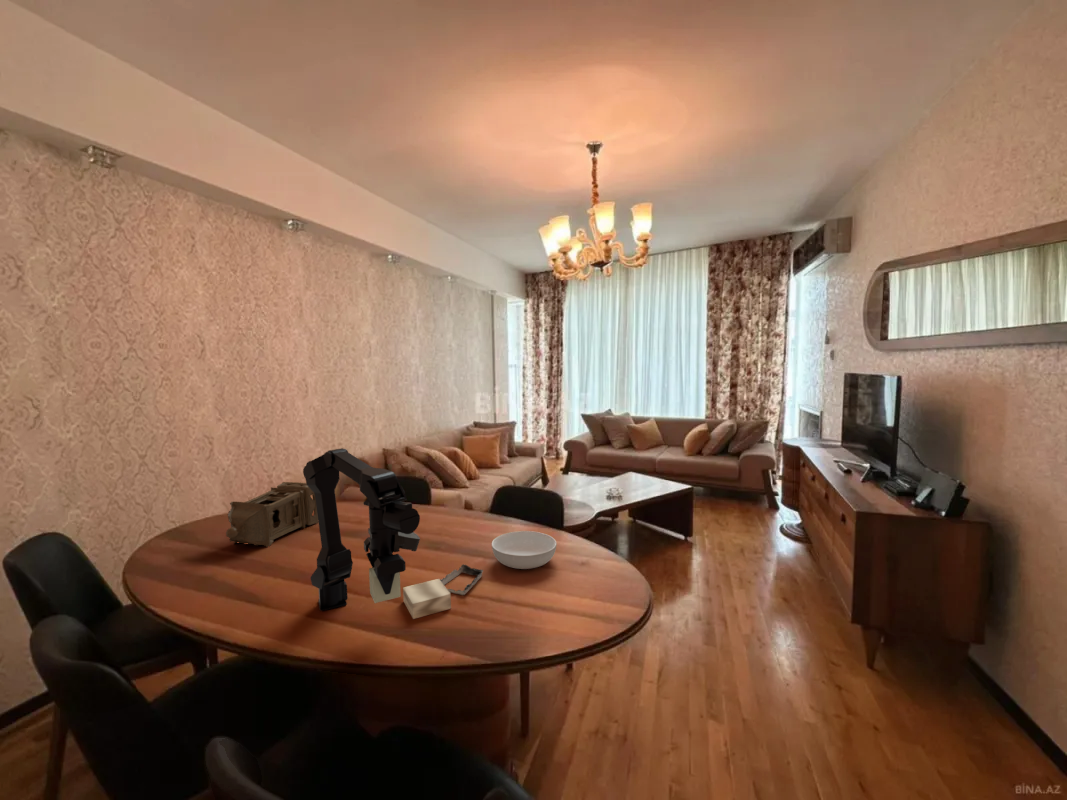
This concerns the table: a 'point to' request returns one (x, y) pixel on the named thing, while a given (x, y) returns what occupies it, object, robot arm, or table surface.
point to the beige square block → (426, 598)
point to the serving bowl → (524, 549)
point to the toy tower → (272, 514)
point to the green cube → (378, 591)
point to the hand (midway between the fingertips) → (384, 588)
